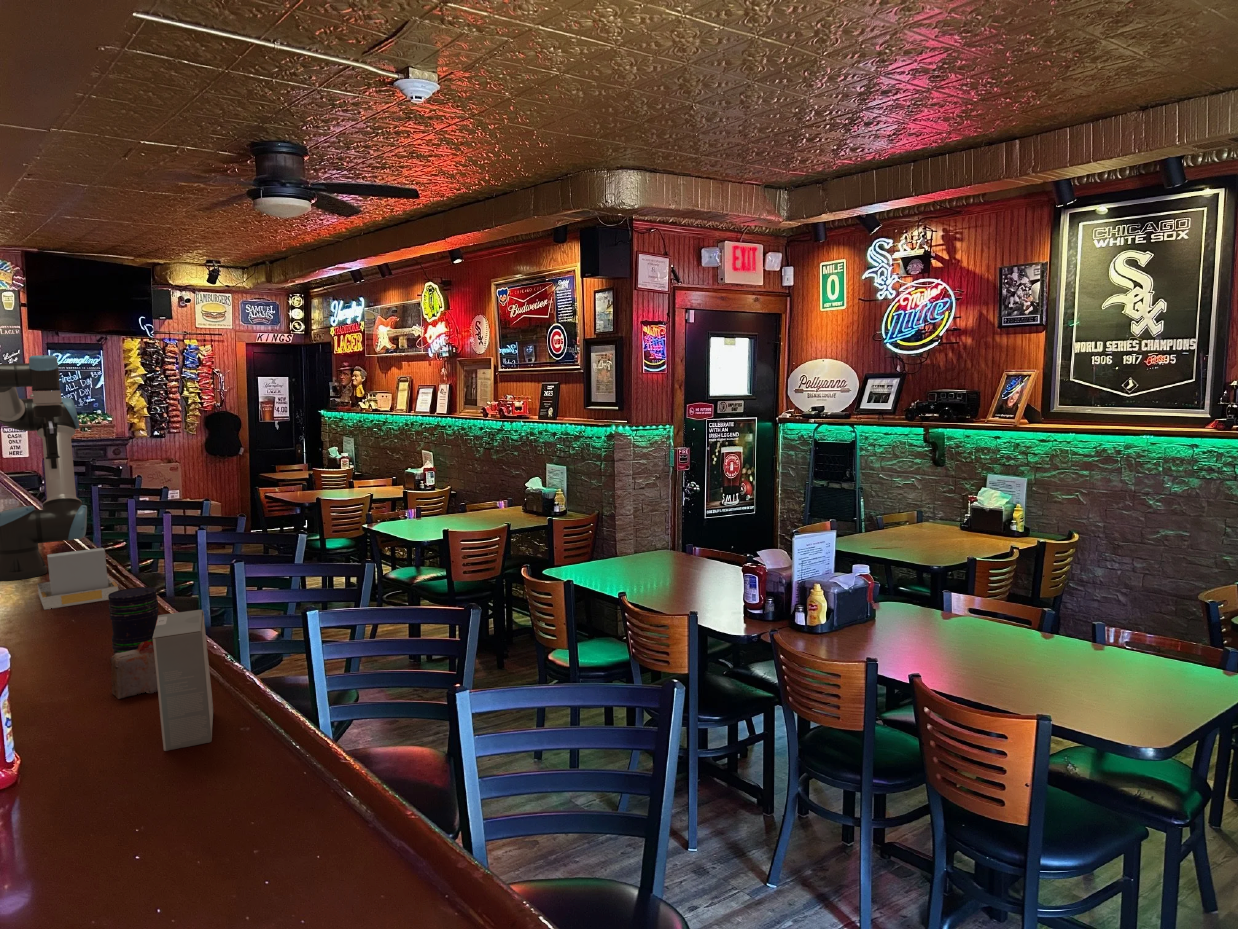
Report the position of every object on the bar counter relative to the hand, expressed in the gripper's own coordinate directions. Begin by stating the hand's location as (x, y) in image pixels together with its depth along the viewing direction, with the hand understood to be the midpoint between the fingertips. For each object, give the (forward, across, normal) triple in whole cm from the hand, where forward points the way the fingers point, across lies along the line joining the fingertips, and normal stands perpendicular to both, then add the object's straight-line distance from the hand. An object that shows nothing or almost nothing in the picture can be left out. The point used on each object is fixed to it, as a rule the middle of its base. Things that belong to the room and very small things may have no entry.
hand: (54, 478), depth 272 cm
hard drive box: (+35, +160, +6) cm, 164 cm away
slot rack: (+34, +22, +2) cm, 41 cm away
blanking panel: (+34, +30, +2) cm, 45 cm away
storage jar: (+35, +103, +6) cm, 109 cm away
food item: (+35, +130, +5) cm, 135 cm away
